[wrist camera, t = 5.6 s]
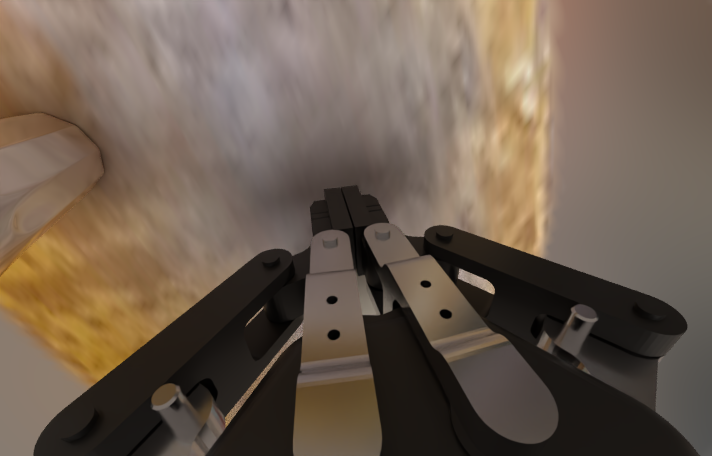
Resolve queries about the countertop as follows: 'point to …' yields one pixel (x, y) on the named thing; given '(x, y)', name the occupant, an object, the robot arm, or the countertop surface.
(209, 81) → the countertop surface
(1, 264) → the milkshake
